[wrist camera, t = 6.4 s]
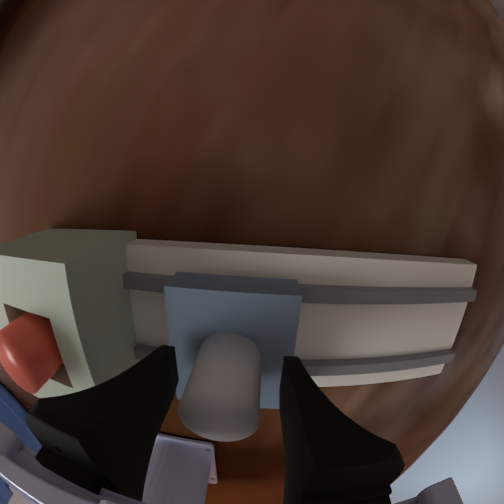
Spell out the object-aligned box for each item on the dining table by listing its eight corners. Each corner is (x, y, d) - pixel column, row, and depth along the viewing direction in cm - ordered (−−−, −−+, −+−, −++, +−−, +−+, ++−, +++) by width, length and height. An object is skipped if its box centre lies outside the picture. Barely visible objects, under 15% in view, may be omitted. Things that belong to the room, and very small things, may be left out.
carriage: (282, 386, 15) (287, 466, 9) (185, 377, 15) (157, 451, 9) (297, 279, 13) (318, 349, 7) (177, 271, 13) (122, 331, 8)
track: (430, 367, 17) (468, 421, 11) (71, 344, 18) (25, 390, 12) (466, 252, 15) (532, 285, 8) (49, 228, 16) (-20, 251, 9)
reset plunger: (83, 362, 12) (47, 403, 9) (43, 348, 13) (8, 380, 9) (68, 307, 12) (21, 344, 8) (29, 297, 12) (-15, 325, 8)
